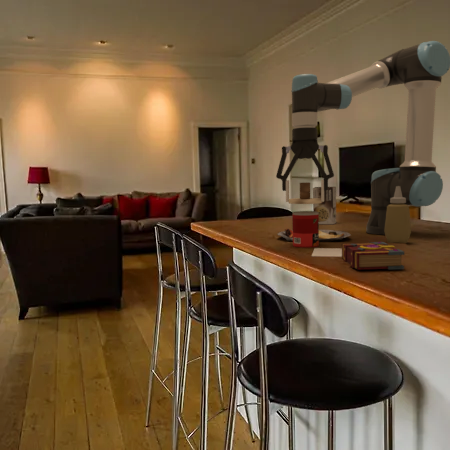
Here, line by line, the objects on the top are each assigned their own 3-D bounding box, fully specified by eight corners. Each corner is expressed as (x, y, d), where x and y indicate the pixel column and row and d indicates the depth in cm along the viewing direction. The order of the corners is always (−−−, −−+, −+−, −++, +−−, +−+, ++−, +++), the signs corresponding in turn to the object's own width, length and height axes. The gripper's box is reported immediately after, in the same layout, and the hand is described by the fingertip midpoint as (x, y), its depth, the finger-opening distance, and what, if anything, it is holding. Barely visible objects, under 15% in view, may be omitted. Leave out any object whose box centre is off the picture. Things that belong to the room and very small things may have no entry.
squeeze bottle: (397, 245, 156) (398, 187, 154) (378, 242, 163) (379, 186, 161) (416, 243, 159) (417, 186, 157) (397, 240, 166) (397, 185, 165)
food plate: (266, 236, 183) (266, 227, 183) (321, 233, 192) (322, 223, 192) (302, 247, 160) (302, 236, 160) (363, 243, 169) (363, 232, 169)
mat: (363, 250, 148) (363, 248, 148) (364, 259, 135) (364, 256, 135) (314, 250, 151) (314, 248, 151) (311, 258, 138) (311, 256, 138)
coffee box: (336, 223, 224) (336, 186, 222) (333, 224, 218) (333, 187, 216) (316, 222, 228) (316, 186, 226) (312, 224, 222) (312, 187, 220)
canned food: (318, 249, 152) (318, 213, 151) (291, 249, 154) (291, 213, 153) (319, 245, 160) (318, 210, 159) (293, 245, 161) (293, 211, 160)
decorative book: (356, 271, 119) (356, 250, 118) (339, 259, 135) (339, 240, 134) (404, 270, 119) (405, 249, 118) (382, 257, 135) (382, 239, 134)
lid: (322, 201, 159) (322, 181, 158) (320, 203, 149) (320, 182, 149) (290, 202, 161) (290, 182, 161) (286, 204, 152) (286, 183, 151)
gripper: (343, 127, 154) (342, 200, 156) (269, 130, 159) (270, 201, 162) (343, 125, 147) (342, 202, 149) (265, 128, 152) (266, 202, 154)
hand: (305, 201), depth 155 cm, fingers closed on lid, 10 cm apart
